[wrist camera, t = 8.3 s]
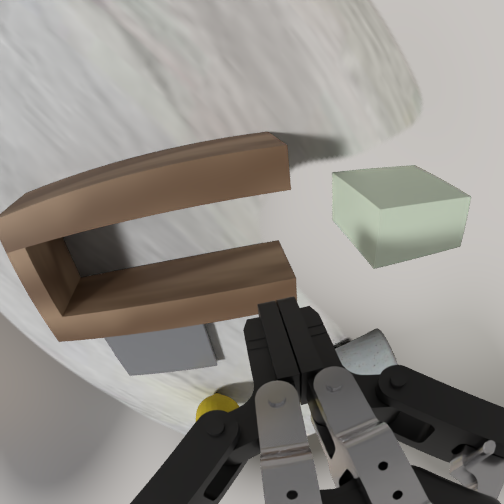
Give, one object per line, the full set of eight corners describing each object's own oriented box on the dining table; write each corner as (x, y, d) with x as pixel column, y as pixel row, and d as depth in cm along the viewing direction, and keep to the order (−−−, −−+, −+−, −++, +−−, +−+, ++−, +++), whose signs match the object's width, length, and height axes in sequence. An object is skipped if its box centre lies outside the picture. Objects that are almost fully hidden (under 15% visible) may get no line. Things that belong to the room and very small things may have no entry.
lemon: (247, 387, 33) (257, 444, 26) (225, 406, 35) (232, 459, 29) (206, 377, 31) (211, 439, 24) (187, 398, 33) (189, 454, 26)
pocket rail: (25, 193, 17) (-8, 221, 13) (267, 131, 19) (287, 145, 14) (75, 302, 23) (58, 341, 19) (280, 266, 24) (297, 306, 20)
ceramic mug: (307, 348, 31) (328, 406, 24) (373, 315, 30) (405, 368, 24) (328, 384, 37) (346, 431, 30) (381, 358, 36) (405, 402, 29)
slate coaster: (90, 304, 24) (87, 310, 23) (192, 287, 24) (192, 293, 24) (130, 370, 29) (129, 375, 28) (216, 359, 30) (217, 365, 29)
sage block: (332, 172, 21) (380, 209, 15) (414, 165, 21) (471, 196, 15) (332, 219, 23) (373, 268, 17) (410, 207, 24) (460, 246, 18)
